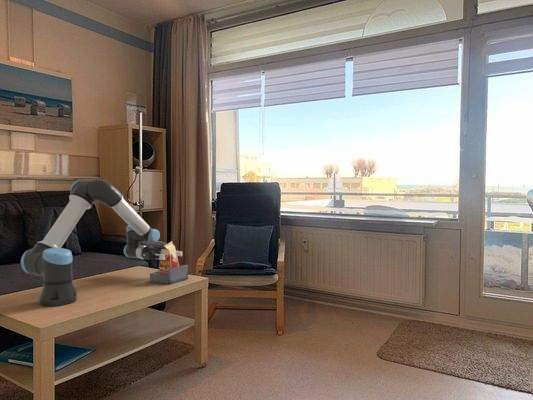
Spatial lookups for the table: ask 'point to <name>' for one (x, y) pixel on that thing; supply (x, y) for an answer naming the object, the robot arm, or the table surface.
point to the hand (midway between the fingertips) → (173, 255)
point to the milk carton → (168, 258)
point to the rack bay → (171, 275)
